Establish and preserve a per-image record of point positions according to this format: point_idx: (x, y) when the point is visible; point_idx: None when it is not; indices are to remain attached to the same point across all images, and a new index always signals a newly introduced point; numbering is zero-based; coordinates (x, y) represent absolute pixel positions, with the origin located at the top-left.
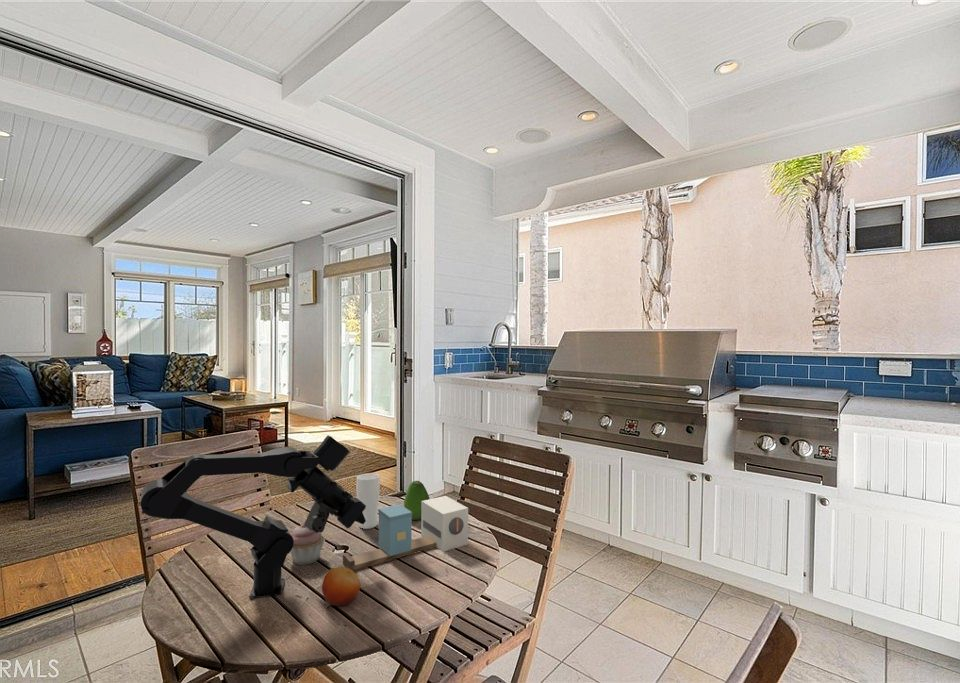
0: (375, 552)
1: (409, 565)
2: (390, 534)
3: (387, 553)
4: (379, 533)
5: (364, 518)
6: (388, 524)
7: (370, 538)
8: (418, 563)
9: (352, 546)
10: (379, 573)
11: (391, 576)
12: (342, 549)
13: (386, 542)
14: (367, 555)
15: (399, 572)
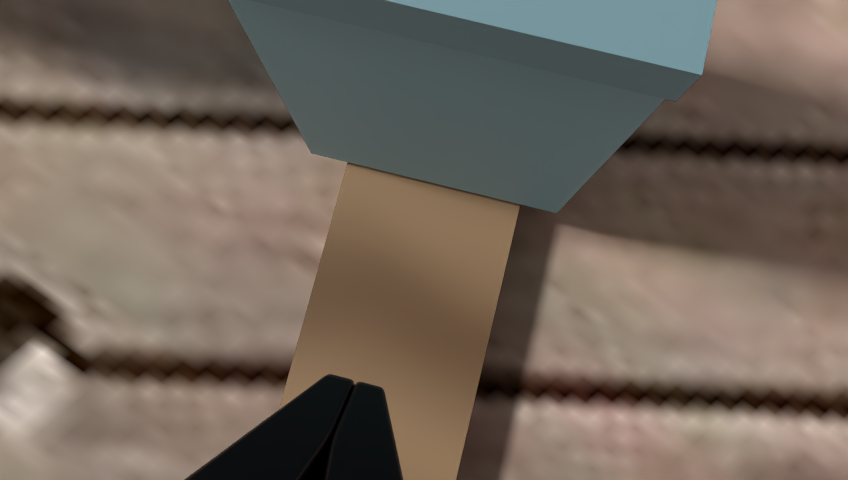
0: (376, 240)
1: (707, 152)
2: (610, 151)
3: (504, 199)
4: (306, 113)
5: (391, 431)
6: (587, 105)
7: (45, 51)
8: (732, 84)
9: (46, 254)
10: (642, 404)
11: (755, 368)
12: (22, 351)
13: (491, 168)
14: (369, 326)
15: (746, 282)
